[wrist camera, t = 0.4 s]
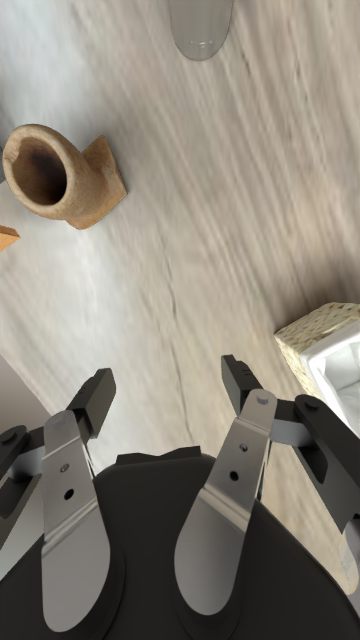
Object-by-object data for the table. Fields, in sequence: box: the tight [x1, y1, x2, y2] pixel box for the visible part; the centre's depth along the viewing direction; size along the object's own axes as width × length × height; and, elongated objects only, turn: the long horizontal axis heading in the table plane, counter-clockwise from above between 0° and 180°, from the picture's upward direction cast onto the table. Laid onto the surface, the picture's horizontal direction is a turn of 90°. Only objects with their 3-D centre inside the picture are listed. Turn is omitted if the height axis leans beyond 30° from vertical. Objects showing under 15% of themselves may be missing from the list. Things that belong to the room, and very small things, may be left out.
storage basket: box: [274, 302, 360, 439], centre depth 34 cm, size 24×16×15 cm
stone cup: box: [2, 124, 127, 230], centre depth 28 cm, size 15×12×15 cm
